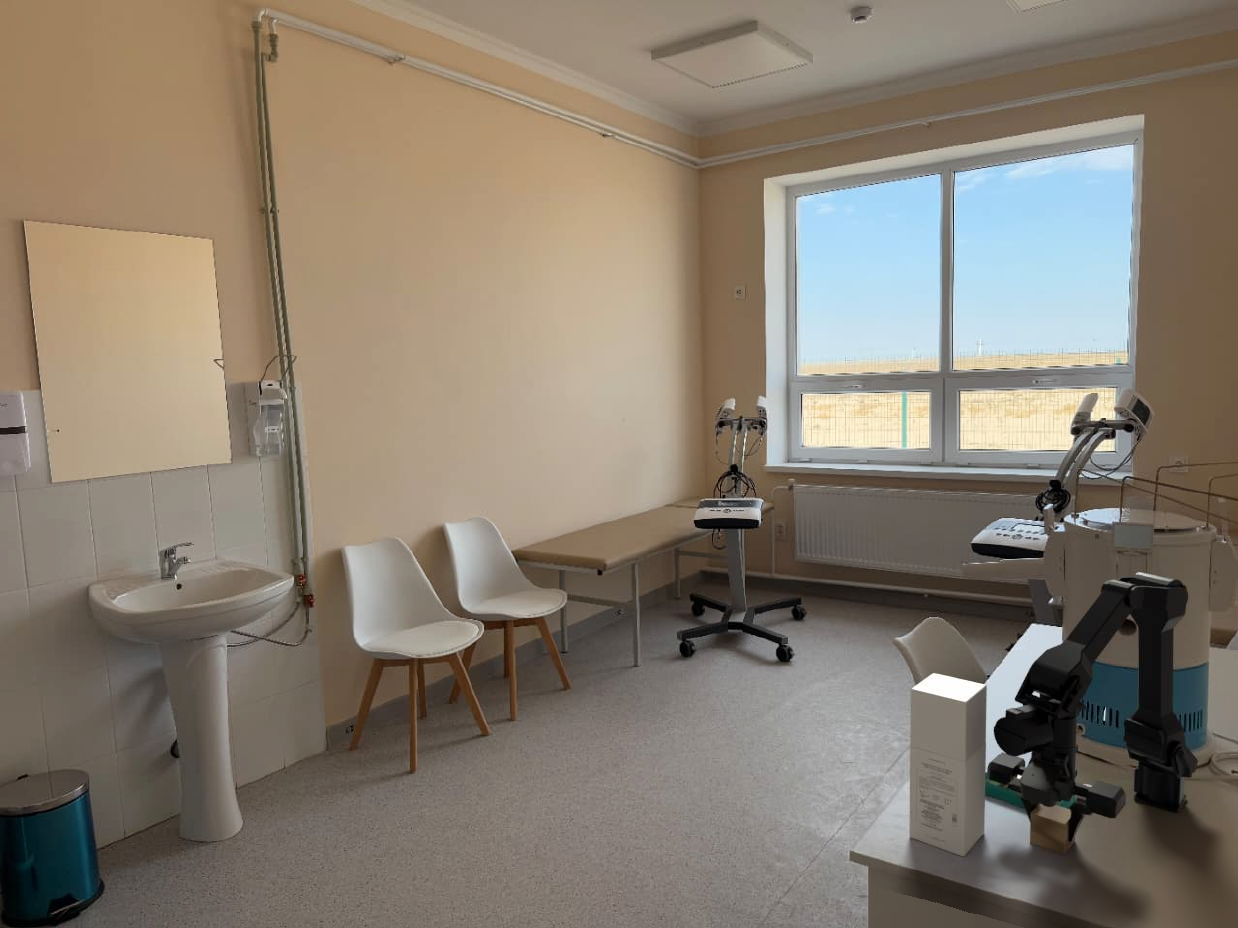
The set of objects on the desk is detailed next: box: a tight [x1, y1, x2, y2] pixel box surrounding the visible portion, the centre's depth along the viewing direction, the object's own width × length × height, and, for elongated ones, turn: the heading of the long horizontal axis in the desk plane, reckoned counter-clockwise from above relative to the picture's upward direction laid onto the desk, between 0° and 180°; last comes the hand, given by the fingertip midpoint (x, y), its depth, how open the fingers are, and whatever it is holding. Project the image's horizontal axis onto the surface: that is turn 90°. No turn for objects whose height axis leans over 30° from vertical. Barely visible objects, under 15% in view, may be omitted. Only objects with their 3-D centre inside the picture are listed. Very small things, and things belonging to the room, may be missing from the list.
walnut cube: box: [1029, 804, 1076, 856], centre depth 135 cm, size 5×5×5 cm
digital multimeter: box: [985, 771, 1076, 810], centre depth 149 cm, size 7×15×3 cm, turn 41°
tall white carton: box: [909, 672, 988, 857], centre depth 137 cm, size 9×9×25 cm
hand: (1052, 834), depth 135 cm, fingers closed on walnut cube, 5 cm apart
